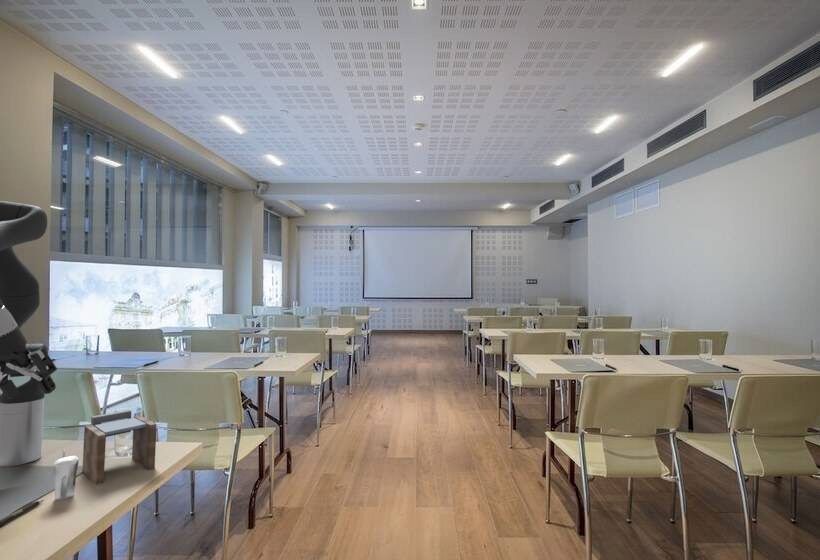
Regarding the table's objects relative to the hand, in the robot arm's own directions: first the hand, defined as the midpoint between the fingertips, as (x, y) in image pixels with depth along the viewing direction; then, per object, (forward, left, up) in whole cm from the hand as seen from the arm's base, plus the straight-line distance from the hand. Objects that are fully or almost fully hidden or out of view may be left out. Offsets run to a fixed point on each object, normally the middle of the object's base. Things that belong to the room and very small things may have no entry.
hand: (32, 393), depth 89 cm
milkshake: (-1, +7, -25) cm, 26 cm away
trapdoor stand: (-9, +20, -25) cm, 33 cm away
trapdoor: (-12, +20, -18) cm, 29 cm away
